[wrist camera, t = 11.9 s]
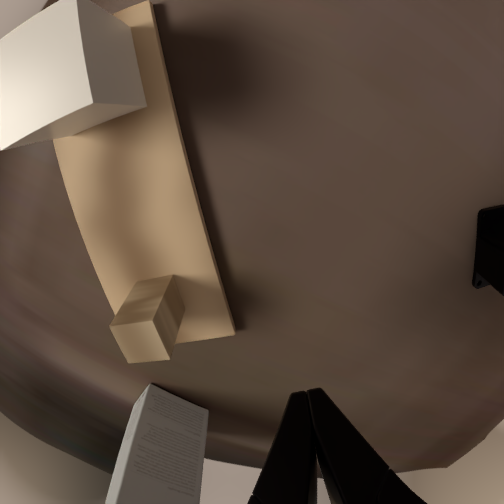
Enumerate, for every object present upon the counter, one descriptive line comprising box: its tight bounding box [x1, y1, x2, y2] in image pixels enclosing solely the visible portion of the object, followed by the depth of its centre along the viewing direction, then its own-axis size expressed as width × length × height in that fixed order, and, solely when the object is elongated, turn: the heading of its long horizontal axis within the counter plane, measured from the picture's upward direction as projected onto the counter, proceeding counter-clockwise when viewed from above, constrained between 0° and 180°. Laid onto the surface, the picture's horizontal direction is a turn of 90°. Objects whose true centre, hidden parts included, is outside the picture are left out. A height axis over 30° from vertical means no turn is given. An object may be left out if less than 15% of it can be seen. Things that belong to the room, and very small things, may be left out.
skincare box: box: [105, 384, 209, 504], centre depth 20 cm, size 6×4×12 cm
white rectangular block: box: [0, 0, 147, 151], centre depth 12 cm, size 5×5×7 cm
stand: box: [53, 0, 236, 363], centre depth 16 cm, size 8×22×6 cm, turn 12°
